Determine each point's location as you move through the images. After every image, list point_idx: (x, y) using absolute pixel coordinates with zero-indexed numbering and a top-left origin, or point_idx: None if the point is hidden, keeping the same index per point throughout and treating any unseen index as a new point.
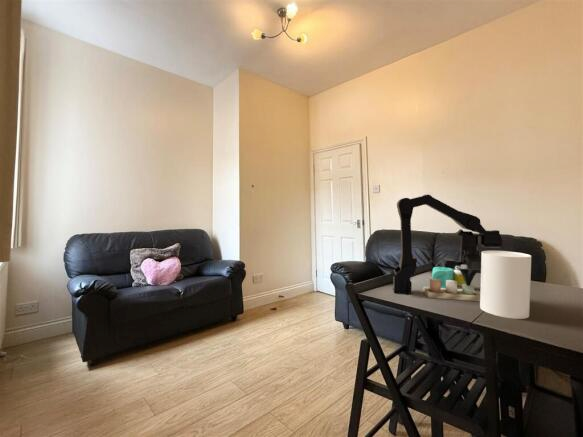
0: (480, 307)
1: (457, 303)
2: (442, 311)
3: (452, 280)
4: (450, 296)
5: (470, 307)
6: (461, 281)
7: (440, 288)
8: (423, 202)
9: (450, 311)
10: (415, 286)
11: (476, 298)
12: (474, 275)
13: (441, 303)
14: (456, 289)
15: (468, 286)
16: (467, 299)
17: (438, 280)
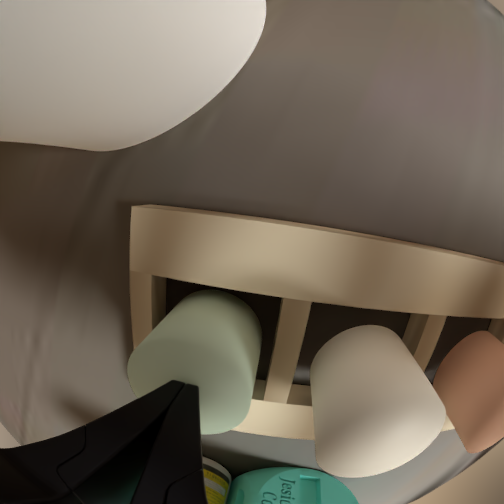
0: (261, 29)
1: (404, 125)
2: (494, 28)
3: (343, 471)
4: (424, 246)
5: (334, 41)
6: None
7: (460, 362)
8: None
9: (465, 15)
10: (442, 453)
11: (189, 210)
12: (38, 443)
13: (496, 135)
14: (338, 353)
15: (198, 353)
16: (273, 220)
17: (489, 423)
